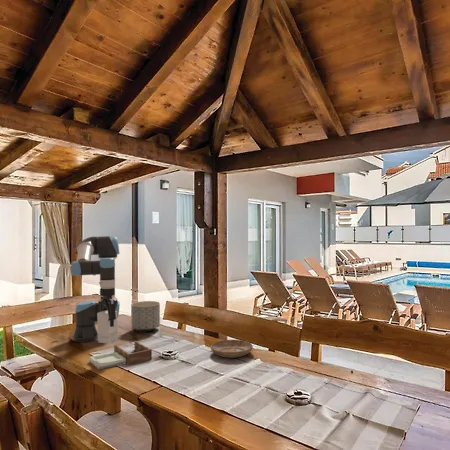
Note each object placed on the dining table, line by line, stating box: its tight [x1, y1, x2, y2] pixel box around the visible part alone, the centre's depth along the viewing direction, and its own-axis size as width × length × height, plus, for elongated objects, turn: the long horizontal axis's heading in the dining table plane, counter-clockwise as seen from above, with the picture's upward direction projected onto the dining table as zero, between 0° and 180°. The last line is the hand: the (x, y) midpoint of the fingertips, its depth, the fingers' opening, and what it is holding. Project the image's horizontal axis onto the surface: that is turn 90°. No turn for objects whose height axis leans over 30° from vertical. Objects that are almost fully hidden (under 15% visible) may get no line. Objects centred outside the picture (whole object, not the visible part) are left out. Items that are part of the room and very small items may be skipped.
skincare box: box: [97, 311, 119, 344], centre depth 197 cm, size 8×7×16 cm
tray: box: [89, 351, 127, 370], centre depth 197 cm, size 14×14×3 cm
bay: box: [113, 340, 153, 365], centre depth 207 cm, size 20×13×5 cm, turn 37°
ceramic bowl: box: [210, 339, 253, 359], centre depth 210 cm, size 23×24×5 cm
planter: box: [130, 300, 161, 333], centre depth 260 cm, size 19×19×18 cm
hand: (107, 330), depth 197 cm, fingers closed on skincare box, 10 cm apart
